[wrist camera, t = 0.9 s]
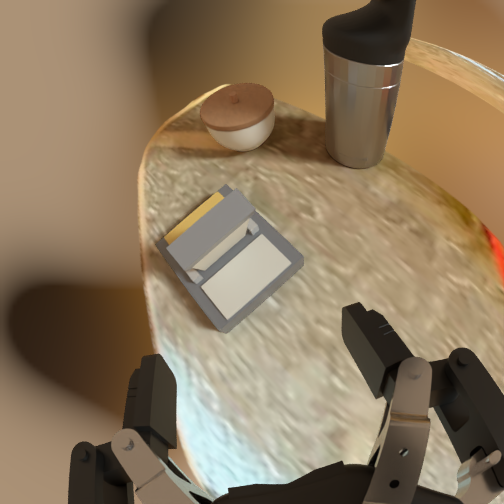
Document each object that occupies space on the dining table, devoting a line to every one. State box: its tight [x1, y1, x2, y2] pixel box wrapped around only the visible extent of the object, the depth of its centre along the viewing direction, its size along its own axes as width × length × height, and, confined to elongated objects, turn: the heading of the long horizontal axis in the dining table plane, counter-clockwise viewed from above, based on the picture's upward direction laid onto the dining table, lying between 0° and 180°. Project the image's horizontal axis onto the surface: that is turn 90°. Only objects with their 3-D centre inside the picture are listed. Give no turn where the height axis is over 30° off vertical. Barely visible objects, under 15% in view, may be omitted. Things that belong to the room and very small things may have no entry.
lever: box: [166, 188, 256, 271], centre depth 24 cm, size 2×6×12 cm, turn 130°
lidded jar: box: [200, 83, 275, 152], centre depth 37 cm, size 11×11×9 cm
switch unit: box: [155, 184, 304, 333], centre depth 32 cm, size 14×12×4 cm
